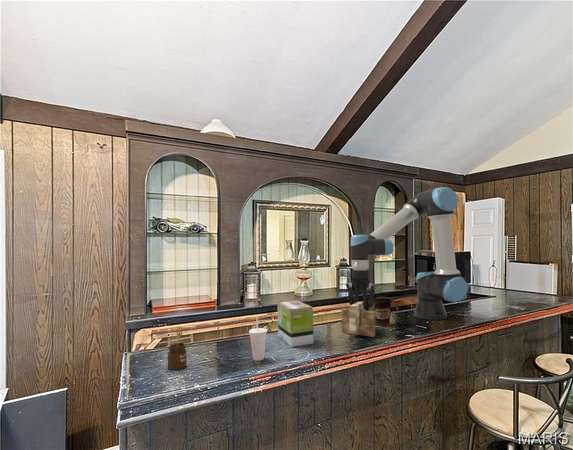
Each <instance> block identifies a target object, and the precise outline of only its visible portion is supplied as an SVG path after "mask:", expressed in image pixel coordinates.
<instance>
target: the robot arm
mask: <svg viewBox="0 0 573 450" xmlns="http://www.w3.org/2000/svg"><path fill="white" fill-rule="evenodd" d="M458 205H459V197H458V195H457V193H456V192H455V191H454V190H453V189H452V188H451V187H450V188H449V187H448V186H443V187H441V186H439V187H435V188H432V189H429V190H424V191H421V192H420V193H418V194H416V195H415V196H414V197H412V198H411V199H409V201H407V202H405V204H403V207H402V209H400V210H399V211H397V212H396V213H395V214H394V215H393V216H392V217H390V218H389V219H388V220H386V221H385V222H383V224H381V225H380V226H379V227H378V228H376V229H375V230H374V231H372V232H371V233H370V234H369V235H367V234H353V235H352V236H351V237H350V255H351V257H350V258H351V269H352V270H351V281H350V282H348V283H345V286H346V288H347V295H348V303H349V306H350V305H353V304H355V303H357V302H359V300H360V299H359V297H360V292H361V294H362V299H363V300H362V301H364V308H363V310H366V311H370V308H372V307H374V302H373V301H374V299H375V289H376V285H377V284H373V283H371V281H370V270H369V268H370V266H369V264H370V263H369V257H370V256H390V255H392V253H393V252H394V248H395V247H394V243H393V241H392V240H391V239H390V238H391V237H393V236H394V235H395V234H397V233H398V232H399V231H400V230H401V229H403V228H405V227H406V226H407V225H408V224H409V223H410V222H412V221H413V220H418V219H419V218H420V217H422V216H424V215H426V216H427V218H428V219H429V220H430V221H431V230H432V238H433V249H434V250H433V251H434V258H435V271H426V272H424V271H423V272H418V273H417V274H416V290H417V291H416V293H417V302H416V305H415V308H414V317H415V318H418V319H423V320H430V321H440V320H446V319H447V312H446V308H445V305H444V303H443V300H444V301H446V302H453V303H457V302H458V303H459V302H460V301H462V300H464V299H465V297H466V296H467V293H468V288H469V286H468V283H467V281H466V280H465V278H463V277H461V276H462V275H461V271H460V270H459V269H457V263H456V254H455V243H454V236H453V227H452V226H453V224H452V217H453V216H454V215H455V211H454V210H455V209H456V208H457V206H458ZM353 288H354V292H353ZM368 288H369V295H368Z"/></svg>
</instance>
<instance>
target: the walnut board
mask: <svg viewBox="0 0 573 450" xmlns="http://www.w3.org/2000/svg"><path fill="white" fill-rule="evenodd" d="M341 331H342V333H343V334H345V333H346V334H351V335H359V336H363V337H365V336H366V337H371V338H372V337H373V338H374V337H375V336H376V318H375V310H369V311H366V310H362V311H361V322H359V329H358V330H356V331H350V330H349V308H342V309H341Z"/></svg>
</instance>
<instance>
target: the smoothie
mask: <svg viewBox="0 0 573 450" xmlns="http://www.w3.org/2000/svg"><path fill="white" fill-rule="evenodd" d="M255 323H256V328H251V329H249V330H248V335H249V337H250V345H251V352H252V359H253V361H256V362H257V361H258V362H259V361H263V360H264V359H265V353H266V351H265V350H266V341H267V334H268V329H266V328H263V327H259V316H258V317H257V316H256V321H255Z"/></svg>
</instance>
